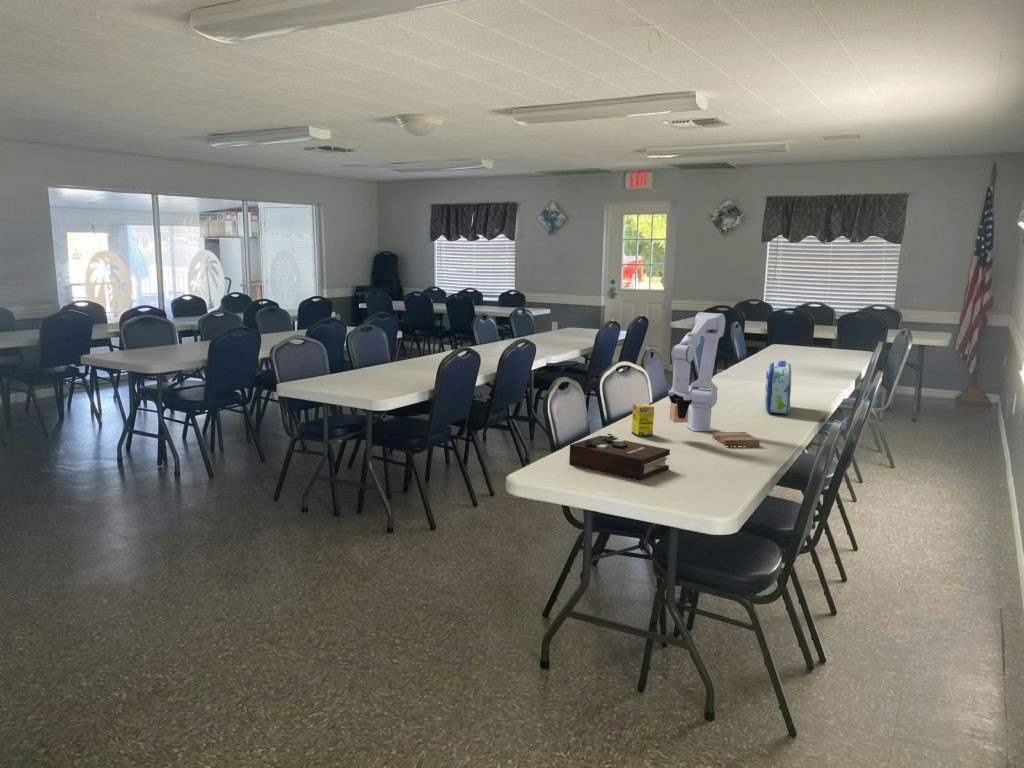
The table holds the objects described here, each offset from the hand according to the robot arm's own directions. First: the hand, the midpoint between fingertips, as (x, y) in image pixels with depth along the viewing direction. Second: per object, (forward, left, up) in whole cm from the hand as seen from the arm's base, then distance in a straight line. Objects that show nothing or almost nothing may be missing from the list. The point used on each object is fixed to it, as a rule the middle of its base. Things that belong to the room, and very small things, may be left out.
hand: (679, 416), depth 268 cm
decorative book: (+35, -31, -9) cm, 47 cm away
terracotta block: (0, 0, -2) cm, 2 cm away
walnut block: (+6, +19, -9) cm, 22 cm away
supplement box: (-7, -11, -8) cm, 16 cm away
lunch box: (-50, +61, -8) cm, 80 cm away
